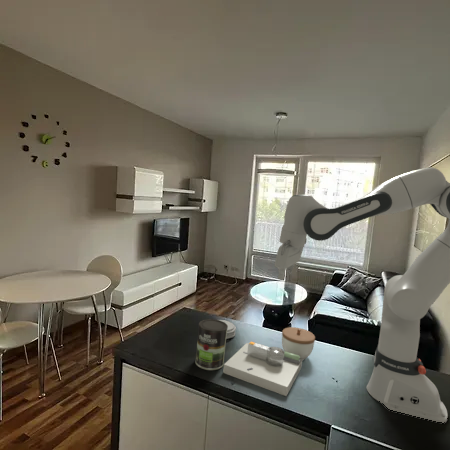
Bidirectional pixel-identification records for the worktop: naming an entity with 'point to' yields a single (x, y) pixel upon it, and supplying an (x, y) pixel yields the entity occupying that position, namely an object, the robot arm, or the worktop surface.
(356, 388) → the worktop surface
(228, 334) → the lid
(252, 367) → the base
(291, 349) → the lidded bowl
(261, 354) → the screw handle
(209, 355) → the coffee can
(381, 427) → the worktop surface
